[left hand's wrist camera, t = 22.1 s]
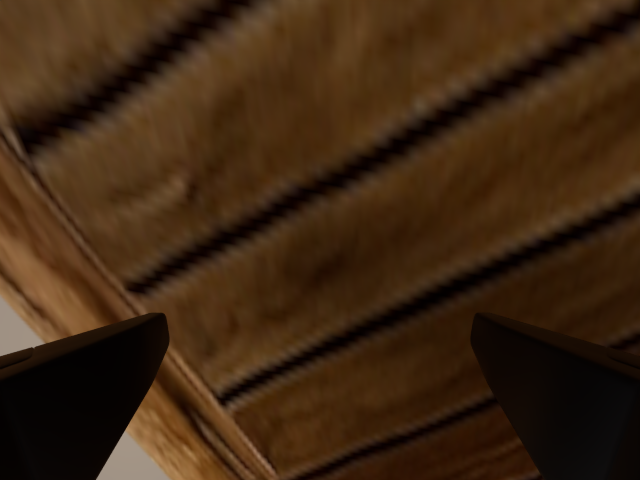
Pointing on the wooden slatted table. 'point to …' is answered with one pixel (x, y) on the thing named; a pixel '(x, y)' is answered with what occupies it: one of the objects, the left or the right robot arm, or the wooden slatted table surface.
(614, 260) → the wooden slatted table surface
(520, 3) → the wooden slatted table surface
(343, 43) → the wooden slatted table surface
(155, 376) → the left robot arm
